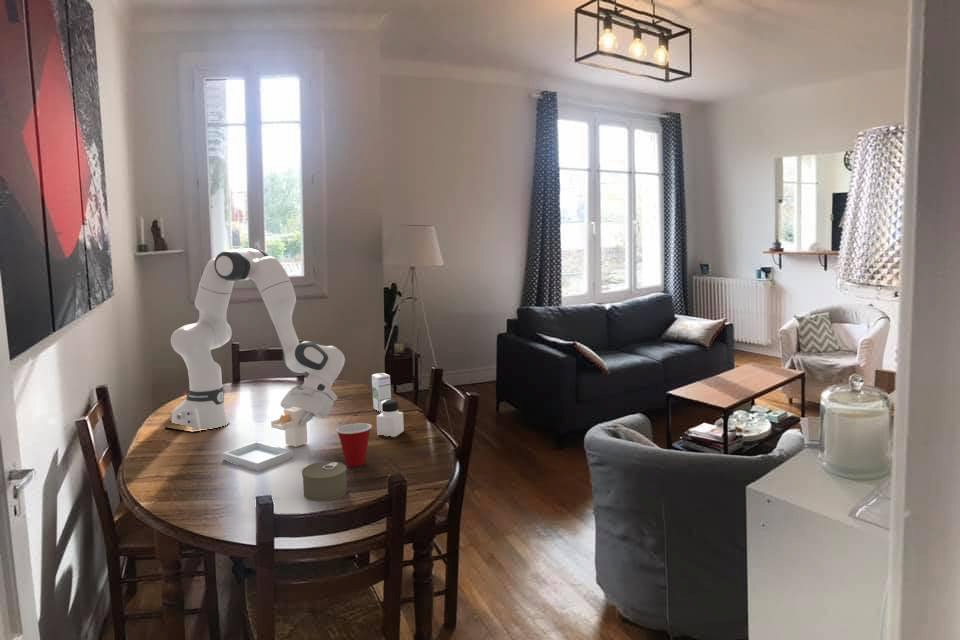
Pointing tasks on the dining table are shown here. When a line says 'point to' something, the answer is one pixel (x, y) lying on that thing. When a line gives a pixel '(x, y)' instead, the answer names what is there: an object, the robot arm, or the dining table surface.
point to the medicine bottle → (390, 419)
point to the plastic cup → (354, 443)
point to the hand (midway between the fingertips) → (294, 423)
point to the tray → (257, 455)
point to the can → (324, 481)
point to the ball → (284, 418)
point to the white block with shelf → (293, 427)
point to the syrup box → (380, 389)
